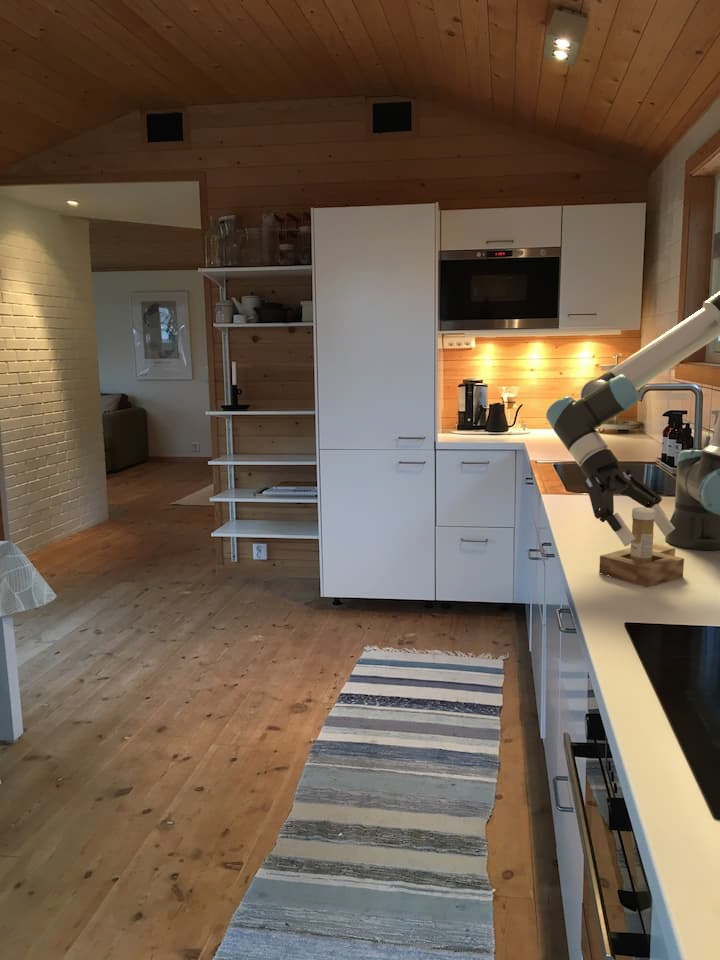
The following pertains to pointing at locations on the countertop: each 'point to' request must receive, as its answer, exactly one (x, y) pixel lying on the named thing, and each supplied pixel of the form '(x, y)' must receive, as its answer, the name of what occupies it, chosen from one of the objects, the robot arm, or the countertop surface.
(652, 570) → the socket block
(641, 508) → the sprinkles bottle
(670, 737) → the countertop surface
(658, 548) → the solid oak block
